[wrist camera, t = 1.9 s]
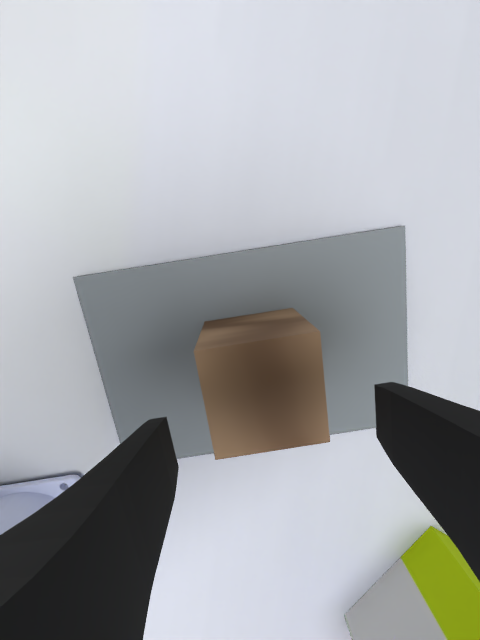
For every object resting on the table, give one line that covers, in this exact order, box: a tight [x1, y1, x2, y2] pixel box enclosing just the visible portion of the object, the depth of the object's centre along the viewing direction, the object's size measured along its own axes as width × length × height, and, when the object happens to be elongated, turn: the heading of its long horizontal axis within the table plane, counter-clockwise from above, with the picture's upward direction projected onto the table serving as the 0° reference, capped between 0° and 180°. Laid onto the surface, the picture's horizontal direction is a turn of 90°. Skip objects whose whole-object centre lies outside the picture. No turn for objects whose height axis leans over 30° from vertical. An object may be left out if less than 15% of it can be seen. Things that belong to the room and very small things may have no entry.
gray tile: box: [73, 226, 408, 459], centre depth 17 cm, size 18×12×1 cm, turn 99°
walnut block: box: [194, 308, 330, 460], centre depth 14 cm, size 5×5×5 cm
